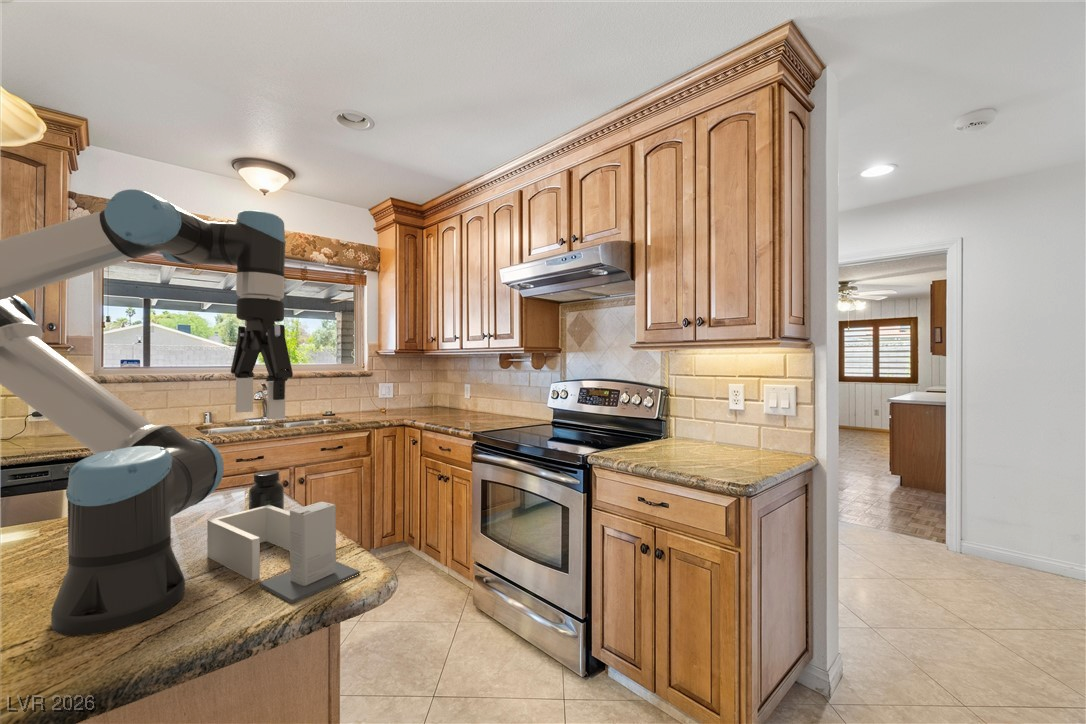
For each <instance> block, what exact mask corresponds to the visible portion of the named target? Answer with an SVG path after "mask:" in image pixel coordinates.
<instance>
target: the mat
mask: <svg viewBox="0 0 1086 724" xmlns="http://www.w3.org/2000/svg"><path fill="white" fill-rule="evenodd" d="M359 573H360V574H361V571H360V570H358V569H356V568H354V567H350V566H348V565H347V564H343V563H341V562H338V561H336V572H335V573H333V574H331V575H329V576H327V577H324V578H322V579H320V580H318V581H315V582H313V583H311V584H309V585H306V586H302V585H299V584H297V583H295V582H293V581H291V580H290V571H287V572H284V573H281V574H279V575H277V576H274V577H271V578H268V579H265V580H263V581H261V582H259V583H258V584H259V587H260V588H261V589H264V590H266V591H268V592H270V593H271V594H273V595H274V596H277V597H279V598H281V599H283V600H285V601H286V602H288V603H290V604H294V603H297V602H299V601H301V600H302V601H303V600H304V599H306V598H308V597H311V596H313V595H315V594H318V593H320V592H322V590H323V591H326V590H327V589H329V587H330V588H332V587H334V586H336V584H337V585H338V583H339V584H341V583H343V582H344V581H343V580H346V579H348V578H350V577H352V576H355V575H357V574H359ZM357 576H358V575H357ZM355 577H356V576H355ZM350 579H351V578H350ZM348 580H349V579H348ZM342 581H343V582H342ZM346 581H347V580H346ZM340 582H341V583H340ZM333 585H334V586H333ZM326 588H327V589H326Z"/></svg>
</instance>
